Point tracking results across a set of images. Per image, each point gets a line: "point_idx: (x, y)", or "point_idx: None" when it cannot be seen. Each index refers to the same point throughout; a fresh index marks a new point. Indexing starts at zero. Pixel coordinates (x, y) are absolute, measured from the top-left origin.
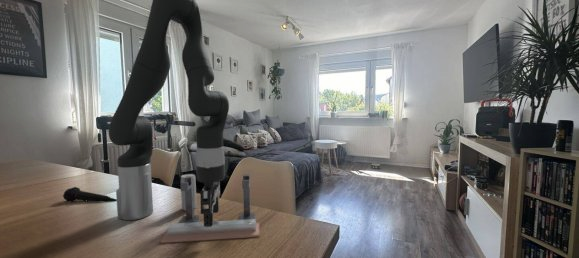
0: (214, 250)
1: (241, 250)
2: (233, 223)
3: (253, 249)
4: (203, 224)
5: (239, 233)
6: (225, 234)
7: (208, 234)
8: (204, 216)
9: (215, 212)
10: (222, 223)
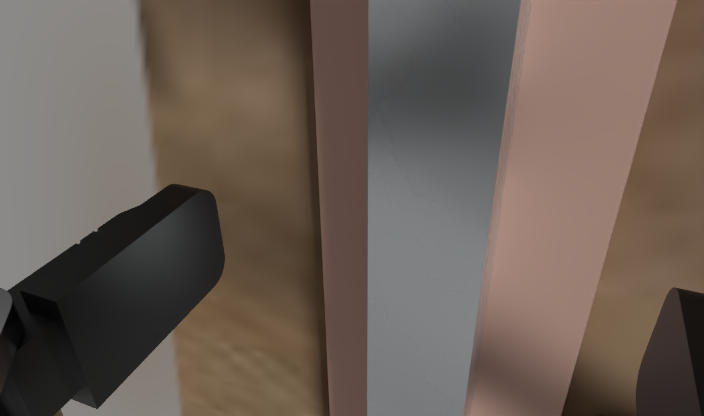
0: None
1: (191, 342)
2: None
3: (204, 396)
4: (408, 126)
5: (365, 388)
6: (364, 294)
7: None
8: (69, 267)
9: (647, 349)
10: (398, 340)
